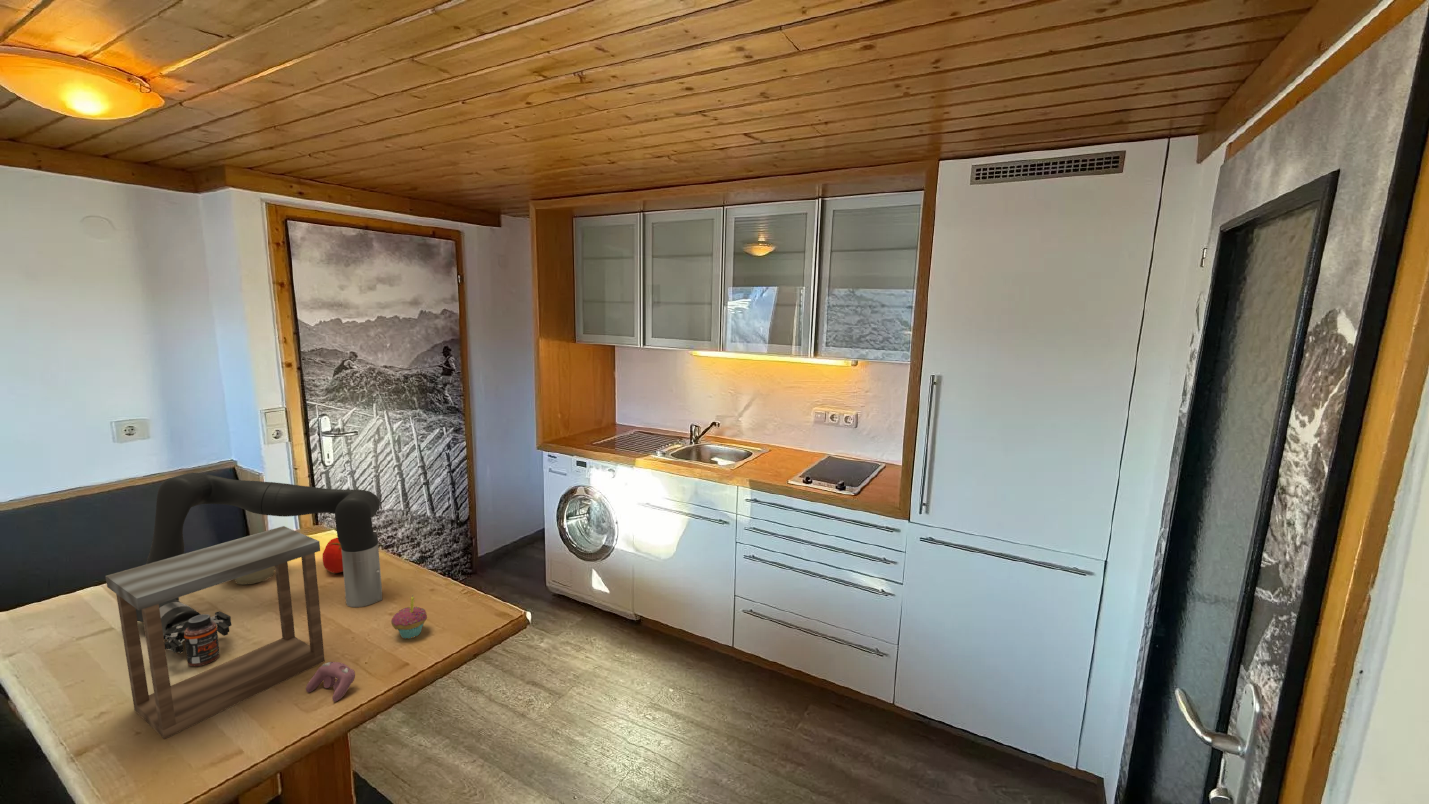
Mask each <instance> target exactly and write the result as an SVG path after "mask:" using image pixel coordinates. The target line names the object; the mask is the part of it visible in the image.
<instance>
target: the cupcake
mask: <svg viewBox="0 0 1429 804" xmlns="http://www.w3.org/2000/svg"><path fill="white" fill-rule="evenodd" d="M414 599H415V597H414V594H412V596H411V597H410V606H408V607H405V608H402V609H400V610H399V611H397V612H395V614H394V615H393V617H392V618H391V621H390V623H391V626H392V628H393V629H395V630H397V631H398V633H399V635H400V636H401V638H403V639H406V638H408V639H412V638H411V637H413V638H415V637H414V636H416V637H418V636H419V635H420V634H421V632H422V628H423V626H424V624H425V622H426V620H428V614H427V611H426V609H424V608H423V607H419V606H414V602H415V600H414Z"/></svg>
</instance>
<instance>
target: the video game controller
mask: <svg viewBox="0 0 1429 804" xmlns="http://www.w3.org/2000/svg"><path fill="white" fill-rule="evenodd" d="M336 679H337V680H336ZM355 679H356V672H355V671H354V669H353V668H351V667H350V666H348V665H347V664H345V663H344V662H343V663H342V662H339V661H329V662H326V663H323V664H322V665H321V666H319V667H318V668H317V670H316V671H315V673H314V675H313V676H312V677H311V678H310V680H309V681H308V682H307V684H306V687H305V692H307V693H312V692H313V691H314V690H316V689H317V688H318V687H319V686H320V685H321V684H322V682H323V687H324V689H329V688H332V687H333V690H334V692H333V695H332V701H333V702H338V701H340V700H341V699H342V697H344V696H345V695H346V693H347V692H348V690H349V688H350V687H351V685H352V683H353V682H355Z"/></svg>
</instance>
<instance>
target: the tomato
mask: <svg viewBox="0 0 1429 804" xmlns="http://www.w3.org/2000/svg"><path fill="white" fill-rule="evenodd" d="M322 564H323V567H324V569H326V570H327V571H328V572H329V573H334V574H339V573H340V574H341V573H343V561H342V550H341V544H340V542H339V540H338V537H334V538H332V539H330V540H329V541H328V542H327V544H326V545H325V547H324V550H323V552H322Z"/></svg>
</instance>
